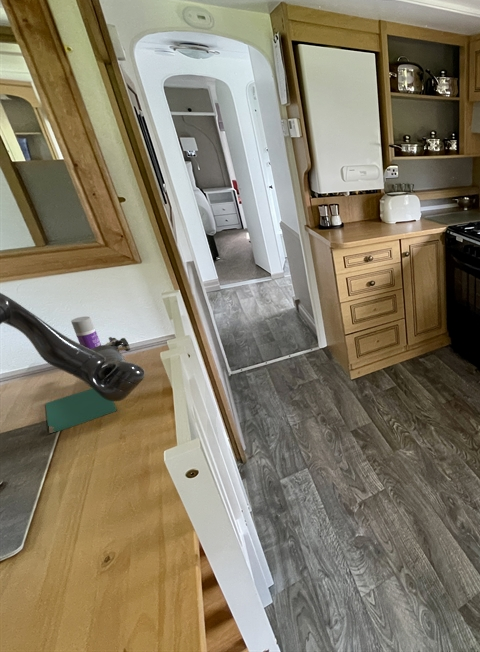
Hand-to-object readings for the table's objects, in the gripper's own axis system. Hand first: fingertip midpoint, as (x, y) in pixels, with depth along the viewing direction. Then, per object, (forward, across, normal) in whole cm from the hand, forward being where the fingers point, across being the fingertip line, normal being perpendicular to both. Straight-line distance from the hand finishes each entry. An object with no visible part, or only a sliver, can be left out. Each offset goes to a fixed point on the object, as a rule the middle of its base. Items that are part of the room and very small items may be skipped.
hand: (93, 344), depth 121 cm
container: (+8, 0, +9) cm, 12 cm away
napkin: (-22, +9, +8) cm, 25 cm away
